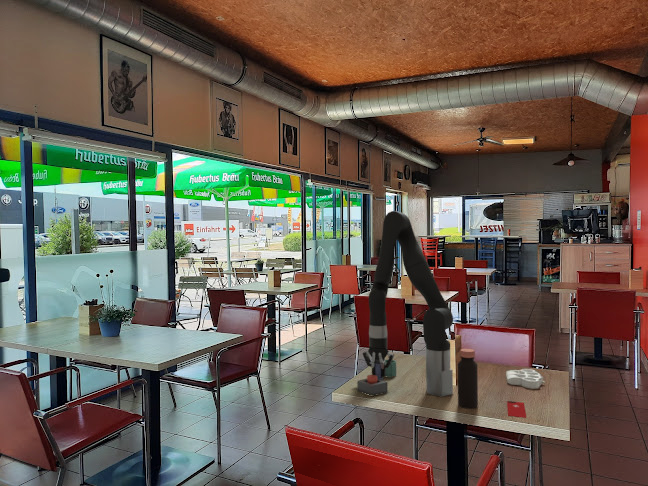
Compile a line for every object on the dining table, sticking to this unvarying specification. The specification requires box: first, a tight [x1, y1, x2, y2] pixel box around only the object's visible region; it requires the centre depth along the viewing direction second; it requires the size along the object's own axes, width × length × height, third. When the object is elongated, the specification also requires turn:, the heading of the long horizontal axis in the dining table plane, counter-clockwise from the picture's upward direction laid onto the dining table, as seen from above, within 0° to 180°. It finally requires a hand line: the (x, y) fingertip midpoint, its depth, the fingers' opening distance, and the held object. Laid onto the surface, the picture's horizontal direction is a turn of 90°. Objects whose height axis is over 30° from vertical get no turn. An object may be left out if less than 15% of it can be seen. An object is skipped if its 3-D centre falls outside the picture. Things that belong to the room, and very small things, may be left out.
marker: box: [375, 359, 384, 381], centre depth 199 cm, size 3×3×10 cm
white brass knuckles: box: [505, 368, 546, 390], centre depth 198 cm, size 3×18×15 cm
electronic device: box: [506, 400, 527, 419], centre depth 167 cm, size 6×1×15 cm
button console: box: [356, 378, 389, 396], centre depth 188 cm, size 8×8×4 cm
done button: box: [366, 374, 377, 384], centre depth 188 cm, size 4×4×3 cm
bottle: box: [457, 348, 479, 410], centre depth 171 cm, size 7×7×20 cm
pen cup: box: [384, 358, 397, 378], centre depth 210 cm, size 6×6×6 cm
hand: (378, 376), depth 199 cm, fingers closed on marker, 3 cm apart
